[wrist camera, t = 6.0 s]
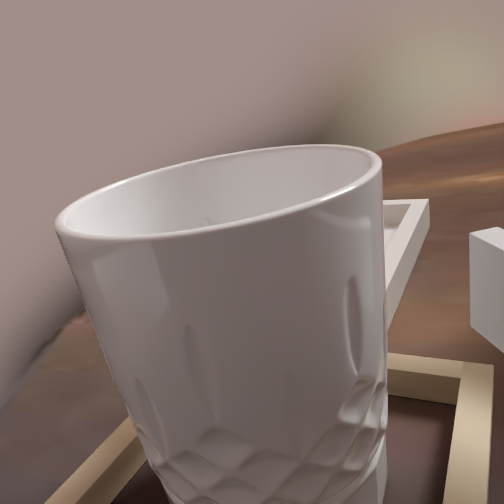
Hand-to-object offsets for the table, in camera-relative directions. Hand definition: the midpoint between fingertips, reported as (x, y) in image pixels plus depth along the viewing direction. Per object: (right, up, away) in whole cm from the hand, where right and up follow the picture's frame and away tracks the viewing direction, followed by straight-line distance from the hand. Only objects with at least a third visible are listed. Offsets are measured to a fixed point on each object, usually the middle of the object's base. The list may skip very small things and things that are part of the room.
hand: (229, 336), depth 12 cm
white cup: (+1, -5, +3) cm, 7 cm away
